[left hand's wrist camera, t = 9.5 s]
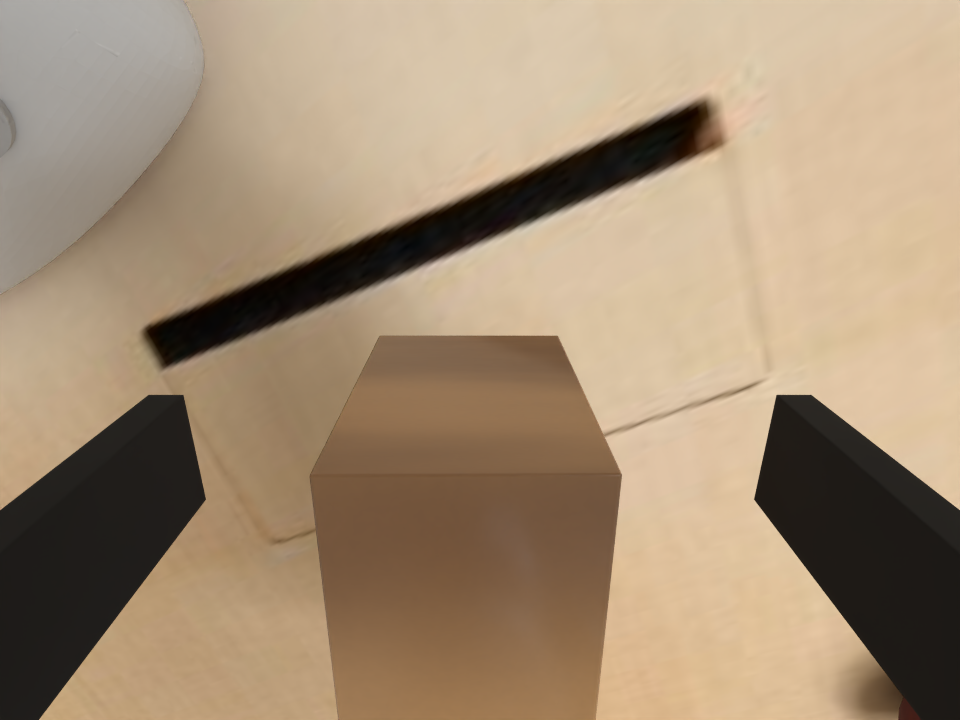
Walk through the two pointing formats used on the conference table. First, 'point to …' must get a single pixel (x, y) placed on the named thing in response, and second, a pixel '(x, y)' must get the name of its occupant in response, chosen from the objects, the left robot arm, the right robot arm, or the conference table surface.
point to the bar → (466, 533)
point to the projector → (83, 113)
